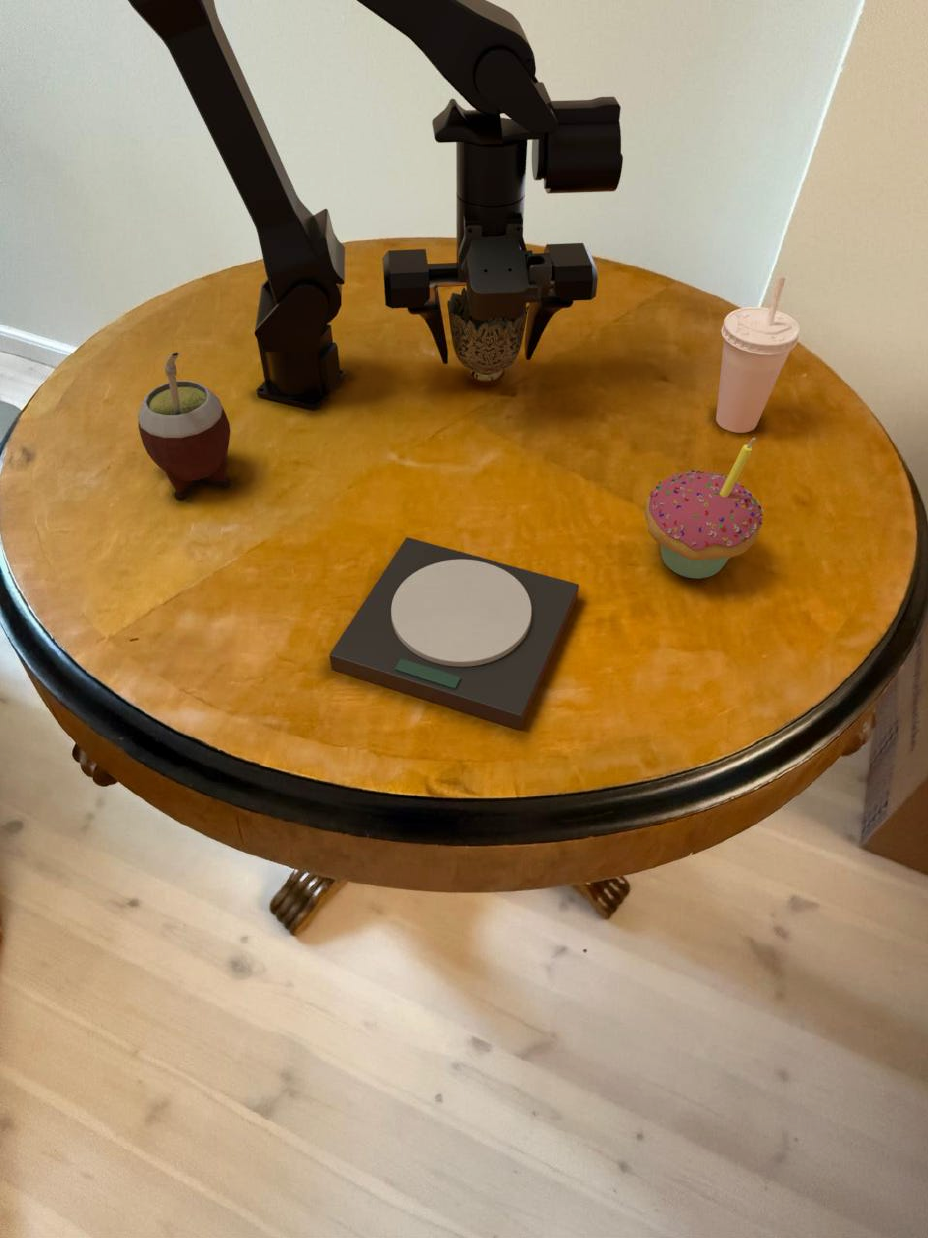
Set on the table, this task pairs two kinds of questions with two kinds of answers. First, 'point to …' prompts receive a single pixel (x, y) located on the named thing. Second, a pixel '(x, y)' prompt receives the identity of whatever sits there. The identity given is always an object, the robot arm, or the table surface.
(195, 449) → the mate gourd
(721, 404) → the smoothie
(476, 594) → the scale
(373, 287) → the table surface
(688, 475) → the cupcake
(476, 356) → the cup
